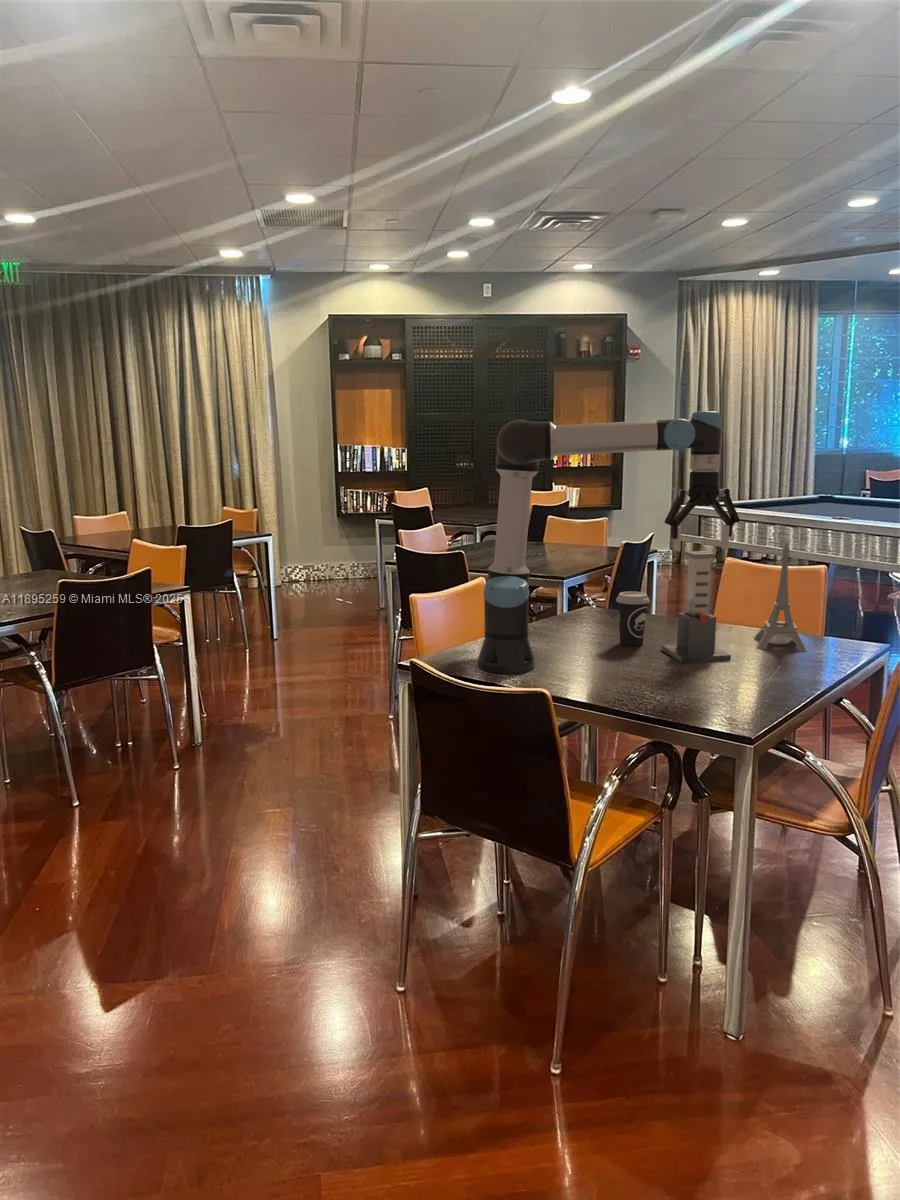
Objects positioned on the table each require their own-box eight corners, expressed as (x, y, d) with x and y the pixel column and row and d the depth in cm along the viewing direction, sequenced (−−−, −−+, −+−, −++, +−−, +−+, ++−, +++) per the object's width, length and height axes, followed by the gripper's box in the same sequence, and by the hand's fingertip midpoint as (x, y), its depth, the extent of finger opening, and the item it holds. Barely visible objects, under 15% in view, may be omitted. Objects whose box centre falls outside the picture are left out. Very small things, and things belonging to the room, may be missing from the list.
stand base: (681, 663, 220) (683, 618, 218) (661, 649, 234) (663, 607, 231) (730, 660, 222) (733, 616, 219) (707, 647, 235) (710, 605, 233)
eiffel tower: (753, 638, 246) (759, 539, 240) (800, 640, 243) (808, 540, 237) (757, 649, 234) (763, 545, 228) (807, 652, 230) (815, 546, 224)
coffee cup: (645, 640, 245) (647, 591, 242) (650, 648, 235) (652, 597, 232) (613, 639, 246) (614, 590, 243) (616, 647, 236) (618, 597, 233)
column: (689, 652, 224) (694, 554, 219) (680, 647, 230) (684, 551, 224) (710, 651, 225) (715, 553, 219) (700, 646, 231) (705, 550, 225)
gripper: (665, 472, 212) (662, 553, 217) (755, 470, 216) (751, 550, 220) (654, 471, 220) (651, 549, 224) (741, 469, 223) (737, 546, 227)
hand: (700, 550), depth 222 cm, fingers open, 13 cm apart
